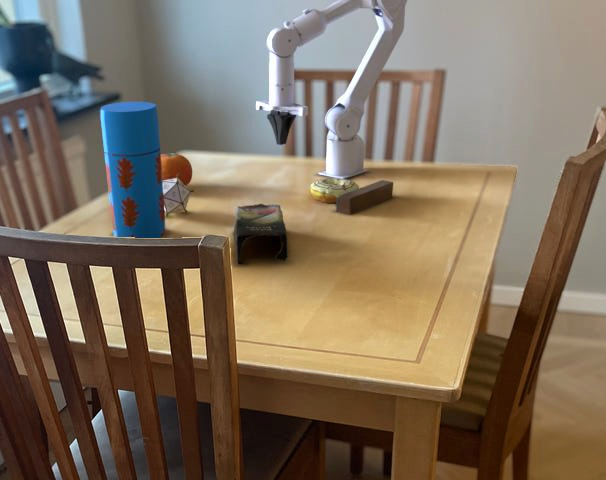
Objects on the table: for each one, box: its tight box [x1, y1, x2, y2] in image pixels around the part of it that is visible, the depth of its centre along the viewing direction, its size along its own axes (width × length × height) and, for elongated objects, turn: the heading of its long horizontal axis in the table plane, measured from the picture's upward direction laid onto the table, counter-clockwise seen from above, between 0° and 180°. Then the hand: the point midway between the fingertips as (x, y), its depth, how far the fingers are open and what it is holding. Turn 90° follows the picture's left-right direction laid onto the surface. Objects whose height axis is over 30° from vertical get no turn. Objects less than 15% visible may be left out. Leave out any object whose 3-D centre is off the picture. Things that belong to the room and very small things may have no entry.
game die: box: [162, 174, 195, 219], centre depth 171 cm, size 9×8×10 cm
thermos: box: [100, 101, 166, 239], centre depth 156 cm, size 11×11×25 cm
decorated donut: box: [309, 177, 360, 204], centre depth 179 cm, size 10×11×4 cm
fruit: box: [161, 152, 193, 187], centre depth 189 cm, size 11×10×8 cm
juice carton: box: [232, 203, 289, 265], centre depth 152 cm, size 20×10×6 cm, turn 1°
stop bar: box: [335, 179, 394, 215], centre depth 174 cm, size 16×4×4 cm, turn 136°
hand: (281, 143), depth 191 cm, fingers closed
